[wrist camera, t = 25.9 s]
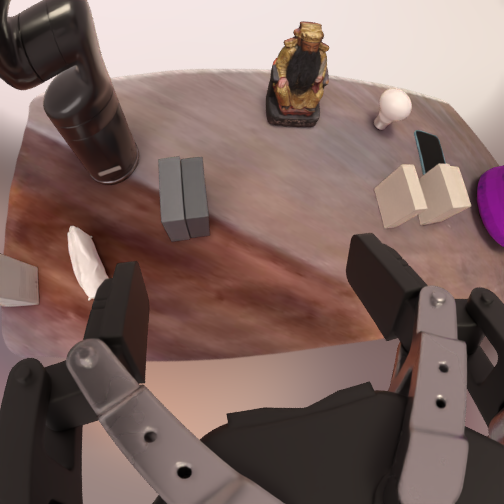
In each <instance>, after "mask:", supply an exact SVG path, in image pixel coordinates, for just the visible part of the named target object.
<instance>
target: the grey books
mask: <svg viewBox="0 0 504 504" xmlns="http://www.w3.org/2000/svg"><path fill="white" fill-rule="evenodd" d="M158 162H159V189H160V208H161V222H162V224H163V226H164V228H165V230H166V232H167V234H168V236H169V237H170V239H171V241H180V240H188V239H190V236H191V238H194V237H202V236H210V229H209V214H208V205H207V196H206V187H205V178H204V168H203V158H202V157H196V158H187V159H181V160H180V156H178V157H170V158H163V159H159V160H158Z"/></svg>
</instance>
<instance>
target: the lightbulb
mask: <svg viewBox="0 0 504 504" xmlns="http://www.w3.org/2000/svg"><path fill="white" fill-rule="evenodd" d="M379 106H380V111H379V115H378V116H377V118H376V119H375V120H374V125H375V126H376V127H377V128H378V129H380V130H383V129H385V128H386V126H387V125H388V124H389V123H392V122H393V121H401V120H404V119H406V118H407V117H408V116H409V115H410V113H411V110H412V103H411V100H410V98H409V96H408V95H407V94H406V93H405V92H404V91H402V90H400V89H396V88H392V89H388V90H386V91H385V92H383V94H382V95H381V97H380V100H379Z"/></svg>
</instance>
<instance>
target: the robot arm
mask: <svg viewBox="0 0 504 504" xmlns="http://www.w3.org/2000/svg"><path fill="white" fill-rule="evenodd" d="M10 1H11V0H0V78H1V79H2V80H4V81H5V82H6V83H7V84H9V85H11V86H12V87H14V88H16V89H19V90H27V89H31V88H33V87H36V86H38V85H40V84H42V83H43V82H45V81H47V80H49V79H50V78H52V77H54V76H56V75H57V76H56V77H55V78H54V79H53V81H52V82H51V83H50V85H49V86H48V88H47V90H46V92H45V95H44V99H43V106H44V110H45V112H46V114H47V116H48V117H49V119H50V120H51V122H52V123H53V124H54V126H55V127H56V128H57V130H58V131H59V133H60V134H61V135H62V137H63V138H64V139H65V141H66V142H67V144H68V145H69V146H70V148H71V149H72V150H73V152H74V153H75V155H76V156H77V157H78V159H79V160H80V161H81V163H82V164H83V165H84V167H85V168H86V169H87V171H88V172H89V174H90V176H91V177H92V178H93V179H94V180H95V181H96V182H98V183H100V184H104V185H112V184H116V183H119V182H121V181H123V180H125V179H126V178H127V177H128V176H130V175H131V174H132V172H133V171H134V170H135V168H136V166H137V164H138V160H139V151H138V148H137V146H136V144H135V142H134V140H133V137H132V134H131V132H130V129H129V127H128V124H127V122H126V119H125V116H124V114H123V111H122V108H121V106H120V103H119V100H118V98H117V95H116V93H115V90H114V87H113V84H112V82H111V79H110V77H109V74H108V72H107V69H106V67H105V64H104V61H103V58H102V55H101V51H100V47H99V43H98V39H97V34H96V30H95V26H94V21H93V18H92V14H91V10H90V7H89V4H88V2H87V0H43V1H41V2H39V3H37V4H35V5H33V6H31V7H30V8H28V9H26V10H24V11H23V12H21V13H19V14H18V15H16V16H13V17H7V15H8V9H9V4H10ZM346 275H347V279H348V282H349V284H350V285H351V287H352V288H353V290H354V291H355V293H356V294H357V296H358V297H359V299H360V300H361V302H362V303H363V305H364V306H365V308H366V309H367V311H368V313H369V314H370V316H371V317H372V319H373V320H374V322H375V323H376V325H377V327H378V328H379V330H380V331H381V333H382V335H383V336H384V338H385V339H386V341H389V340H392V339H396V338H399V340H400V343H399V345H398V348H397V354H396V359H395V364H394V370H393V374H392V380H391V384H390V388H389V390H388V391H378V390H376V391H374V389H373V387H372V385H371V383H370V382H366V383H363V384H360V385H357V386H353V387H350V388H346V389H343V390H339V391H337V392H335V393H333V394H331V395H329V396H328V397H326V398H324V399H322V400H320V401H319V402H316V403H314V404H312V405H310V406H308V407H306V408H259V409H253V410H247V411H241V412H234V413H228V414H227V419H228V423H227V424H225V425H222V426H220V427H218V428H216V429H214V430H212V431H211V432H209V433H208V434H206V435H205V436H204V437H202V438H201V439H200V440H199V439H198V438H196V436H194V435H193V434H192V433H191V432H190V431H189V430H188V429H187V428H186V427H185V426H184V425H183V424H182V423H181V422H180V421H179V420H178V419H177V418H176V417H175V416H174V415H173V414H172V413H171V412H170V411H169V410H168V409H167V408H166V407H164V405H163V404H162V403H161V402H160V401H159V400H158V399H157V398H156V397H155V396H154V395H153V394H152V393H151V392H150V391H149V389H147V387H145V386H144V385H139V383H145V370H146V350H147V335H148V322H149V299H148V295H147V291H146V288H145V284H144V281H143V277H142V273H141V270H140V266H139V264H138V262H137V261H133V262H125V263H118V264H117V265H116V268H115V271H114V275H113V278H109V279H105V280H104V281H103V282H102V284H101V285H100V286H99V287H98V289H97V291H96V295H95V298H94V301H93V305H92V310H91V312H90V315H89V319H88V323H87V326H86V330H85V334H84V338H83V341H80V342H79V343H77V344H76V345H74V346H73V347H72V348H71V350H70V351H69V353H68V355H67V358H66V360H65V361H63V362H60V363H57V364H54V365H51V366H48V367H45V368H44V367H43V365H42V364H41V363H40V361H38V360H37V359H34V358H27V359H23V360H21V361H20V362H18V363H17V364H16V365H15V366H14V367H13V368H12V369H11V371H10V373H9V376H8V380H7V384H6V388H5V391H4V396H3V400H2V405H1V409H0V504H83V500H82V427H83V425H85V424H88V423H91V422H94V421H98V420H99V422H100V423H101V425H102V426H103V427H104V429H105V430H106V432H107V433H108V434H109V436H110V437H111V438H112V440H113V441H114V442H115V444H116V445H117V446H118V448H119V449H120V450H121V452H122V453H123V454H124V455H125V457H126V458H127V459H128V460H129V461H130V463H131V464H132V465H133V466H134V468H135V469H136V470H137V471H138V472H139V473H140V475H141V476H142V477H143V478H144V479H145V480H146V481H147V483H149V485H150V486H151V487H152V488H153V489H154V490H155V491H156V492H157V493H158V494H159V495H158V497H157V498H156V500H155V501H154V502H153V503H152V504H504V304H503V303H502V301H501V300H500V299H499V298H498V297H497V296H496V295H495V294H494V293H493V292H491V291H490V290H488V289H485V288H475V289H473V290H472V292H471V294H470V296H469V298H468V299H454V297H453V296H452V295H451V294H450V293H449V292H448V291H447V290H445V289H443V288H441V287H438V286H428V285H427V284H426V283H425V282H424V281H423V280H422V279H421V278H420V277H419V275H418V274H417V273H416V272H415V271H414V270H413V269H412V268H411V267H410V266H408V263H407V262H406V261H405V260H404V259H402V257H401V256H400V255H399V254H398V253H397V252H396V251H395V250H394V249H392V248H391V247H389V246H387V245H385V244H382V243H381V241H380V240H379V239H378V238H377V237H376V236H375V235H374V234H372V233H366V234H357V235H353V236H352V238H351V243H350V249H349V255H348V261H347V266H346ZM485 336H486V337H487V338H488V340H489V341H490V343H491V344H492V345H493V347H494V348H495V350H496V351H497V353H498V362H497V364H496V366H495V367H494V366H493V365H492V363H491V362H490V360H489V359H488V357H487V356H486V354H485V353H484V351H483V350H482V348H481V347H480V343H481V342H482V340H483V338H484V337H485ZM467 389H468V391H469V393H470V395H471V396H472V398H473V400H474V402H475V404H476V405H477V407H478V409H479V411H480V413H481V415H482V417H483V418H484V420H485V422H486V424H487V426H488V428H489V435H488V436H484V435H482V434H480V433H478V432H476V431H474V430H472V429H470V428H468V427H466V426H465V416H466V395H467Z"/></svg>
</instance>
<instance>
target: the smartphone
mask: <svg viewBox="0 0 504 504" xmlns="http://www.w3.org/2000/svg"><path fill="white" fill-rule="evenodd" d="M414 135H415V139H416V144H417V148H418V152H419V157H420V161H421V166H422V171H423V175H425V174H426V173H427V172H428V171H430V170H431V169H432V168H434V167H435V166H436V165H438V164H446V163H445V159H444V155H443V152H442V148H441V144H440V141H439V139H438V137H437V136H435V135H432V134H429V133H426V132H422V131H419V130H416V131H415V132H414Z"/></svg>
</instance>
